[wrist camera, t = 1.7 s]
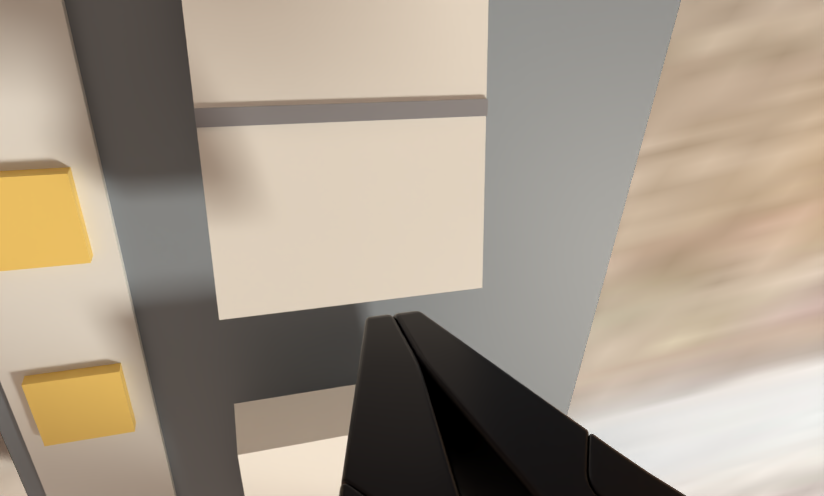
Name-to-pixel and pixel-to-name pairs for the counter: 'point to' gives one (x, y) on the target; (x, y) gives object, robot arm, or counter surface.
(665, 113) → the counter surface
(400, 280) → the panel
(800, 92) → the counter surface
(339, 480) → the block
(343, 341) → the console
